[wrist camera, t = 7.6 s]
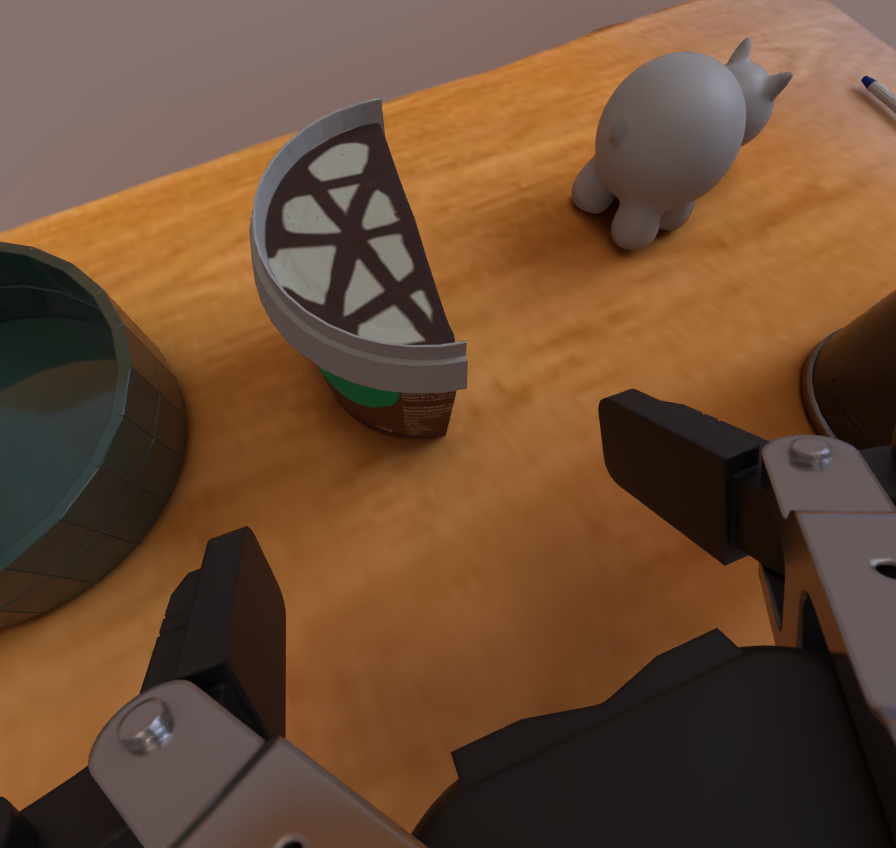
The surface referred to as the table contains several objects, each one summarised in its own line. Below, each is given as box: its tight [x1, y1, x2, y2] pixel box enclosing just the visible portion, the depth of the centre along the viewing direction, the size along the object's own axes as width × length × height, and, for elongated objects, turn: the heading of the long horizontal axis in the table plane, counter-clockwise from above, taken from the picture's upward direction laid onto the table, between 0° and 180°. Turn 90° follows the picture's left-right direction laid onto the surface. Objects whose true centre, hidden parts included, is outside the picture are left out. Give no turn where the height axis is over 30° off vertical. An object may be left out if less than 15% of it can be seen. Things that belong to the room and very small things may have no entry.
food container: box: [250, 98, 468, 439], centre depth 21 cm, size 12×6×10 cm, turn 16°
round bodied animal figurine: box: [572, 38, 793, 250], centre depth 28 cm, size 7×12×8 cm, turn 121°
